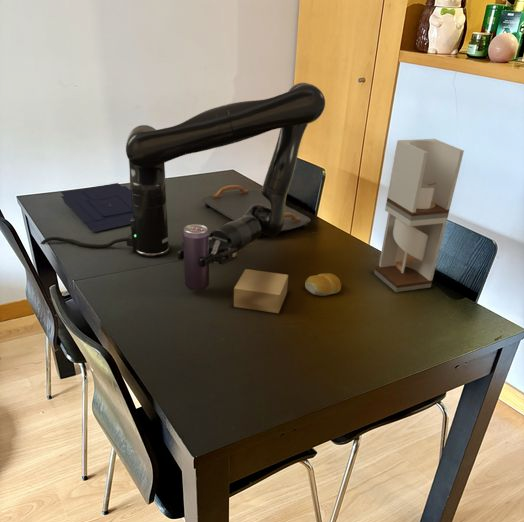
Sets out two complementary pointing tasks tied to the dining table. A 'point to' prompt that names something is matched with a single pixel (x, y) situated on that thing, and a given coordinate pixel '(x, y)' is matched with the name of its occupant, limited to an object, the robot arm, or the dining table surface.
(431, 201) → the architectural tower model
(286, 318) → the dining table surface
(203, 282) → the beverage can
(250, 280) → the birch block
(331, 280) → the bread roll
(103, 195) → the folded navy cloth
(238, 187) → the serving tray
